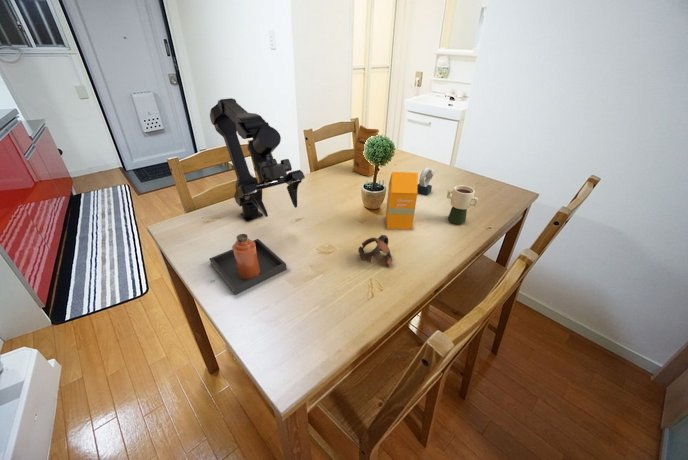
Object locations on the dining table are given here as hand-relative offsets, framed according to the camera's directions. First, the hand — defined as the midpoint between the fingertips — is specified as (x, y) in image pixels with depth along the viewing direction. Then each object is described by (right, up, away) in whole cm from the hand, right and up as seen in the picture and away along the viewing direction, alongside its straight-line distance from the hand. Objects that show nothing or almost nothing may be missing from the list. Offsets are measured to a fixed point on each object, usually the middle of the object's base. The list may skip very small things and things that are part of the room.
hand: (281, 211), depth 87 cm
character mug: (+60, -2, +26) cm, 65 cm away
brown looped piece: (+28, -14, +7) cm, 32 cm away
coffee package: (+29, +24, +65) cm, 75 cm away
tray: (-10, -17, +2) cm, 19 cm away
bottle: (-9, -17, -1) cm, 20 cm away
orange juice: (+38, -3, +24) cm, 45 cm away
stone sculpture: (+53, +11, +46) cm, 71 cm away
